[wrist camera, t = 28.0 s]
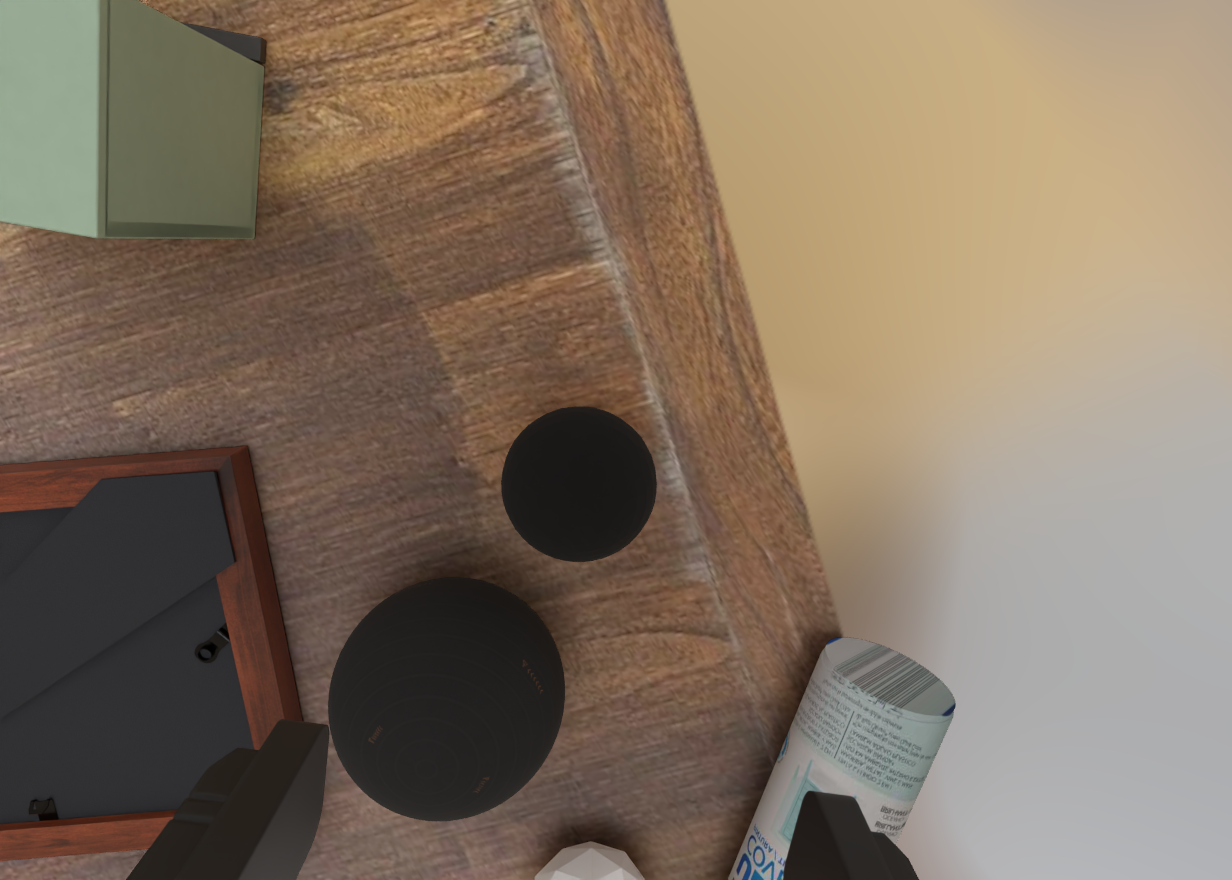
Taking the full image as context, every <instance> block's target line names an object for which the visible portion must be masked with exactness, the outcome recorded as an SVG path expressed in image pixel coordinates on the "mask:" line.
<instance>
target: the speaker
mask: <svg viewBox="0 0 1232 880" xmlns="http://www.w3.org/2000/svg"><path fill="white" fill-rule="evenodd" d="M564 701H565V681H564V672H563V667H562V662H561V659H560V655H559V652H558V649H557V647H556V644H555V642H554V640H553V638H552V636H551V634H550V632H549V630H548V629H547V627H546V626H545V624H544V623H543V621H542V620H541V619H540V618H539V616H538V615H537V614H536V613H535V612H534V611H533V610H532V609H531V608H530V607H529V606H528V605H527V604H526V603H525V602H523V601H522V600H521V599H519V598H518V597H517V596H515V595H514V594H512V593H510V592H509V591H507V590H505V589H503V588H501V587H499V586H496V585H494V584H491V583H488V582H484V581H480V580H476V579H470V578H440V579H433V580H428V581H424V582H421V583H418V584H415V585H412V586H410V587H407V588H405V589H403V590H401V591H399V592H397V593H395V594H393V595H392V596H390V597H389V598H387V599H386V600H384V601H383V602H381V603H380V604H379V605H378V606H376V607H375V608H374V609H373V610H372V611H371V612H370V613H369V614H368V615H367V616H366V617H365V618H364V619H363V620H362V621H361V622H360V623H359V624H358V626H357V627H356V628H355V630H354V631H353V632H352V634H351V635H350V637H349V638H348V640H347V642H346V643H345V645H344V647H343V649H342V651H341V653H340V655H339V658H338V660H337V663H336V665H335V668H334V672H333V675H332V680H331V684H330V691H329V702H328V714H329V724H330V730H331V735H332V739H333V743H334V746H335V749H336V751H337V754H338V756H339V758H340V760H341V762H342V764H343V766H344V768H345V769H346V771H347V773H348V774H349V775H350V777H351V778H352V779H353V781H354V782H355V783H356V784H357V785H358V787H359V788H360V789H361V790H362V791H363V792H364V793H366V794H367V795H368V796H369V797H370V798H372V799H373V800H374V801H376V802H377V803H379V804H380V805H382V806H383V807H385V808H387V809H389V810H391V811H393V812H395V813H398V814H401V815H403V816H407V817H410V818H414V819H419V820H426V821H451V820H458V819H464V818H468V817H471V816H475V815H478V814H480V813H483V812H485V811H488V810H490V809H492V808H494V807H496V806H498V805H499V804H501V803H503V802H504V801H506V800H507V799H509V798H510V797H512V796H513V795H514V794H515V793H517V792H518V791H519V790H520V789H521V788H522V787H523V786H524V785H525V784H526V783H527V782H528V781H529V780H530V779H531V778H532V777H533V776H534V775H535V773H536V772H537V771H538V770H539V768H540V767H541V765H542V764H543V762H544V761H545V759H546V758H547V756H548V754H549V752H550V750H551V748H552V746H553V744H554V742H555V739H556V737H557V734H558V731H559V728H560V724H561V720H562V716H563V710H564Z"/></svg>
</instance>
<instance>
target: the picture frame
mask: <svg viewBox="0 0 1232 880" xmlns="http://www.w3.org/2000/svg"><path fill="white" fill-rule="evenodd" d="M281 719H287V720H294V721H302V716H301V711H300V706H299V701H298V696H297V691H296V686H295V681H294V676H293V671H292V667H291V662H290V657H289V652H288V647H287V642H286V637H285V632H284V627H283V622H282V617H281V612H280V607H279V602H278V597H277V592H276V587H275V582H274V577H273V572H272V567H271V562H270V557H269V552H268V547H267V542H266V537H265V532H264V528H263V523H262V518H261V513H260V508H259V503H258V498H257V493H256V488H255V483H254V478H253V473H252V468H251V463H250V458H249V453H248V448H247V446H240V447H227V448H214V449H201V450H188V451H175V452H163V453H150V454H137V455H124V456H111V457H98V458H85V459H73V460H60V461H47V462H34V463H21V464H8V465H0V861H6V860H19V859H31V858H43V857H55V856H67V855H80V854H92V853H104V852H116V851H129V850H141V849H149V848H150V846H151V845H152V844H153V842H154V841H155V840H156V838H157V837H158V836H159V834H160V833H161V831H162V830H163V829H164V827H165V826H166V825H167V823H168V822H169V820H172V819H173V817H174V814H175V812H176V811H177V810H178V808H179V807H180V805H181V804H182V803H183V801H184V800H185V799H186V798H188V797H189V794H190V792H191V790H192V789H193V788H194V786H195V785H196V784H197V782H198V781H199V780H200V778H201V777H202V775H203V774H204V773H205V771H206V770H207V769H208V767H210V766H211V765H213V764H214V763H216V762H217V761H219V760H220V759H222V758H223V757H224V756H226V755H227V754H229V753H230V752H232V751H233V750H235V749H236V748H246V749H254V750H259V749H260V748H261V746H262V745H263V743H264V742H265V740H266V739H267V737H268V736H269V734H270V733H271V731H272V730H273V728H274V727H275V725H276V724H277V722H278V721H279V720H281ZM302 722H303V721H302Z"/></svg>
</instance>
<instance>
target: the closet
mask: <svg viewBox="0 0 1232 880" xmlns="http://www.w3.org/2000/svg"><path fill="white" fill-rule="evenodd" d="M265 53H266V40H264V39H262V38H260V37H255V36H250V35H245V34H239V33H234V32H229V31H224V30H219V29H214V28H208V27H203V26H198V25H193V24H188V23H182V22H178V21H176V20H174V19H172V18H170V17H168V16H167V15H165V14H163V13H161V12H159V11H157V10H155V9H153V8H151V7H150V6H148V5H146V4H144V3H142V2H140V1H138V0H0V222H4V223H10V224H15V225H21V226H27V227H33V228H38V229H44V230H50V231H56V232H62V233H67V234H73V235H79V236H85V237H91V238H102V239H254V238H255V223H256V206H257V188H258V171H259V153H260V136H261V118H262V101H263V84H264V67H263V66H261V65H260V64H258V63H262V64H265ZM256 62H257V63H256Z"/></svg>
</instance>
